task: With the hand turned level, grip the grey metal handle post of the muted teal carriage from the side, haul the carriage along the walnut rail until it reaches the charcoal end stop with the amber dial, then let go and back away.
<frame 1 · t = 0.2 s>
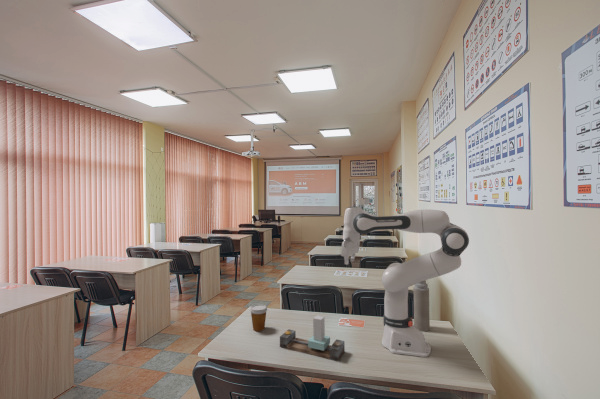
hand: (349, 263, 152), 38 cm above the table, tool pointing down, fingers open, 8 cm apart
rail: (311, 349, 138), on the table
thermos bottle: (421, 328, 160), on the table
disposable coffee cup: (258, 329, 161), on the table
carriage: (319, 331, 137), point 9 cm above the table, slide at 0.0 cm
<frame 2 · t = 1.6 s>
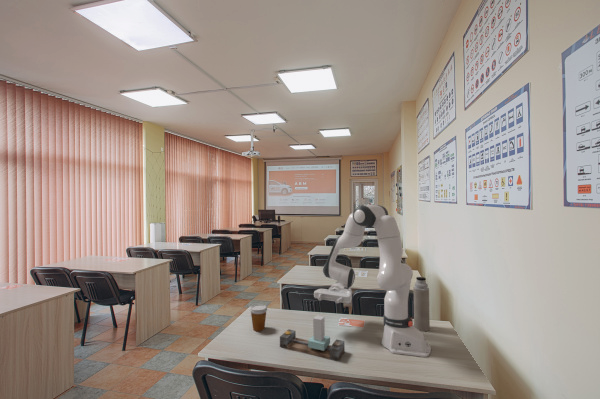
hand: (327, 300, 148), 20 cm above the table, tool horizontal, fingers open, 8 cm apart
nothing on the table moved.
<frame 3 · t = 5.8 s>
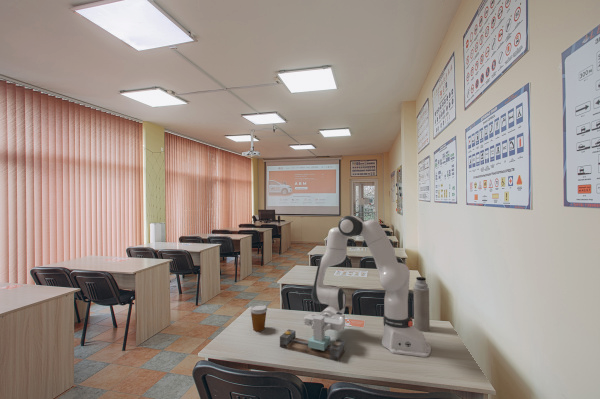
hand: (318, 328, 136), 11 cm above the table, tool horizontal, fingers closed on carriage, 4 cm apart
carriage: (319, 331, 137), point 9 cm above the table, slide at 0.0 cm, touching gripper
everything else where it was.
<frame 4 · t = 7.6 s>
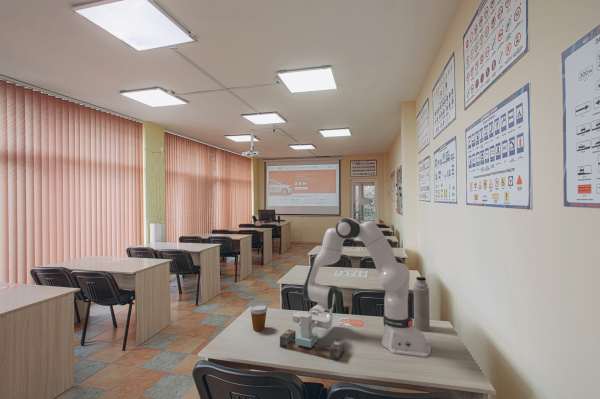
hand: (305, 325, 139), 11 cm above the table, tool horizontal, fingers closed on carriage, 4 cm apart
carriage: (306, 328, 140), point 9 cm above the table, slide at 6.7 cm, touching gripper
everything else where it was.
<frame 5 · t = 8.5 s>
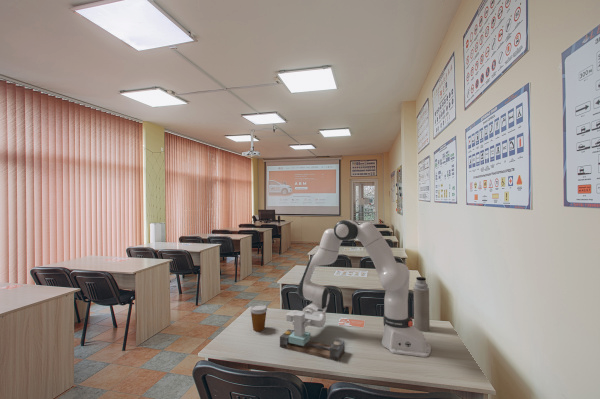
hand: (298, 324, 140), 11 cm above the table, tool horizontal, fingers closed on carriage, 4 cm apart
carriage: (299, 327, 141), point 9 cm above the table, slide at 10.4 cm, touching gripper
everything else where it was.
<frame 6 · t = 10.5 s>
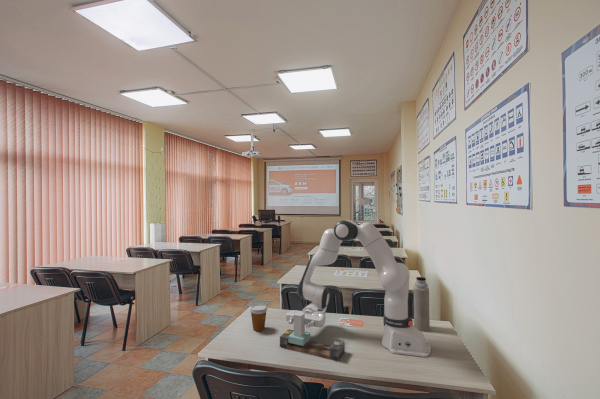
hand: (298, 324, 140), 11 cm above the table, tool horizontal, fingers open, 8 cm apart
carriage: (299, 327, 141), point 9 cm above the table, slide at 10.5 cm
everything else where it was.
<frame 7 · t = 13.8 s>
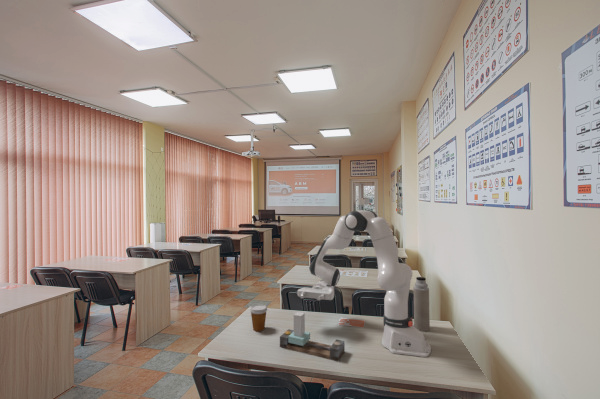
hand: (309, 297, 152), 20 cm above the table, tool horizontal, fingers open, 8 cm apart
nothing on the table moved.
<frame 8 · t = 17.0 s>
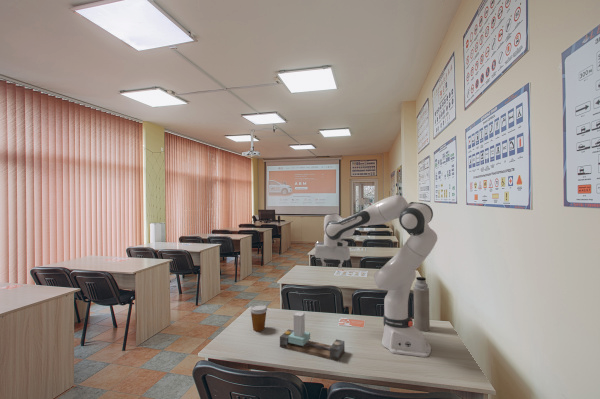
hand: (332, 266, 162), 34 cm above the table, tool pointing down, fingers open, 8 cm apart
nothing on the table moved.
at the end: carriage slide at 10.5 cm; the gripper is holding nothing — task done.
